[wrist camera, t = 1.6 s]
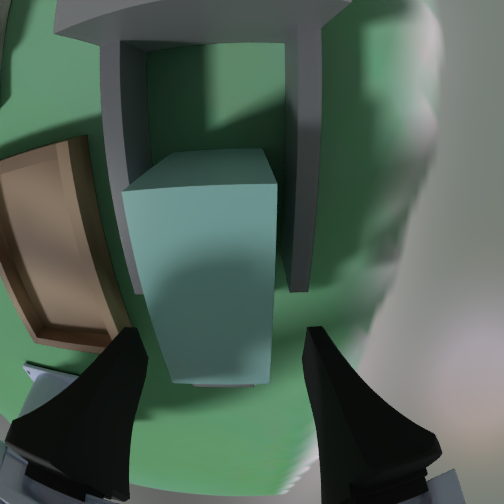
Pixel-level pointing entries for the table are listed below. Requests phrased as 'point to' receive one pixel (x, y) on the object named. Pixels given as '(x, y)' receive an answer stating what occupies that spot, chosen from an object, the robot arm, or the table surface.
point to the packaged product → (3, 25)
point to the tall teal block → (208, 262)
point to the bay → (199, 33)
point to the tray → (58, 249)
